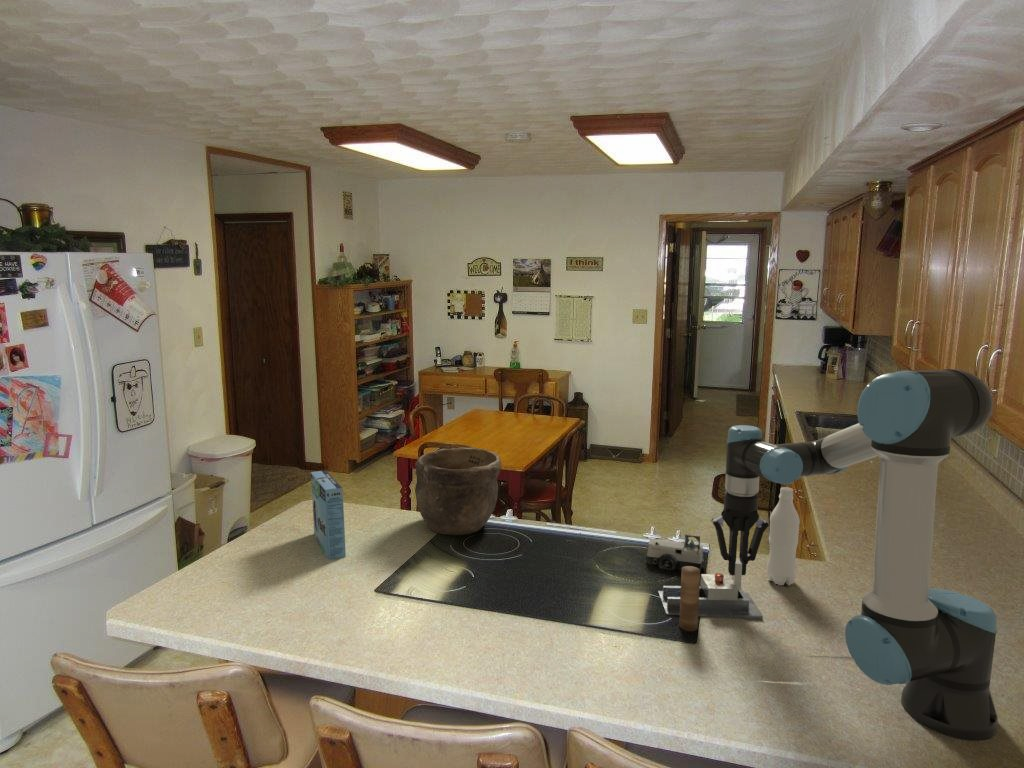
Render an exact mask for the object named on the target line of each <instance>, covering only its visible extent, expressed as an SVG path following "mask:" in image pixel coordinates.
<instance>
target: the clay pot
mask: <svg viewBox="0 0 1024 768" xmlns="http://www.w3.org/2000/svg"><path fill="white" fill-rule="evenodd" d="M414 465H415V475H416V477H417V480H416V484H415V487H414V493H415V499H416V505H417V508H418V510H419V513H420V515H421V517H422V519H423V521H424V522H425V524H426V526H427V527H428V528H429V529H430V530H431V531H432V532H435V533H437V534H441V535H446V536H447V535H448V536H465V535H469V534H474V533H476V532H479V531H480V530H481V529H482V528H483V527H484V526H485V525H486V524H487V523H488V521H489V519H490V518H491V516H492V515H493V513H494V511H495V508H496V505H497V501H498V493H499V484H498V481H497V480H498V477H499V475H500V474H501V468H502V461H501V457H500V456H499V455H498V454H497V453H494V452H493V451H490V450H488V449H482V448H478V447H458V448H456V447H455V448H454V447H452V448H440V449H437V450H434V451H431V452H427V453H425V454H423V455H420V456H419V458H417V460H416V462H415V463H414Z"/></svg>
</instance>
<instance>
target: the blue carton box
mask: <svg viewBox="0 0 1024 768" xmlns="http://www.w3.org/2000/svg"><path fill="white" fill-rule="evenodd" d="M310 482H311V483H310V484H311V499H312V502H311V503H312V516H313V517H312V518H313V534H314V537H315V538H316V541H317V543H318V545H319V547H320V549H321V551H322V552H323V554H324V556H325V557H326V558H327V560H334V559H342V558H346V556H347V554H346V533H345V532H346V531H345V513H344V512H345V511H344V510H345V509H344V493H343V487H342V486H341V485H340V484H339V482H338V481H337V480H336V479H335V478H334V477H333V476H332V475H331V474H330V473H329V472H328V470H318V471H310Z"/></svg>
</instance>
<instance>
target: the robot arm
mask: <svg viewBox="0 0 1024 768" xmlns="http://www.w3.org/2000/svg"><path fill="white" fill-rule="evenodd" d="M989 388H990V387H989V386H988V385H987V384H986V383H985V381H984V380H983V379H981V378H980V377H979V376H977V375H975V374H973V373H972V372H969V371H967V370H963V369H957V368H945V369H931V370H930V369H926V370H925V369H923V370H899V371H895V372H888V373H884V374H881V375H879V376H877V377H875V378H874V379H873V380H872V381H871V382H868V384H867V385H866V386H865V387H864V389H863V390H862V392H861V394H860V396H859V400H858V404H857V410H856V411H857V414H856V415H857V421H858V423H856V424H853V425H850V426H848V427H846V428H843V429H840V430H839V431H836V432H834V433H831V434H828V435H827V436H823V437H822V438H819V439H817V440H813V441H803V442H794V443H792V442H791V443H780V444H779V443H778V444H775V443H770V442H767V441H766V440H765V441H764V440H763V432H762V429H761V428H760V427H757V426H753V425H745V424H744V425H743V424H739V425H733V426H731V427H729V429H728V431H727V440H726V457H725V481H724V489H725V491H724V494H723V495H724V498H723V509H722V512H721V515H720V516H718V517H716V518H715V517H713V518H711V520H710V521H711V523H712V525H713V526H714V528H715V532H716V536H717V541H718V546H719V551H720V555H721V557H722V558H723V561H727V562H728V567H727V569H728V570H727V571H728V575H730V576H731V578H732V580H733V582H734V583H735V585H736V586H737V588H738V590H741V588H742V576H746V574H747V565H748V564H749V562H750V561H751V562H752V561H755V560H756V556H757V554H758V551H759V548H760V545H761V541H762V538H763V535H764V533H765V531H766V530H767V528H768V527H770V523H769V522H767V520H766V519H764V518H761V517H760V514H759V512H758V509H759V508H758V507H759V505H758V504H759V494H758V493H759V491H760V489H759V488H760V477H762V478H765V479H767V480H768V481H770V482H772V483H776V484H780V485H791V484H793V483H794V482H796V481H798V479H799V478H805V477H810V476H811V477H812V476H819V475H820V476H821V475H827V476H828V475H834V474H838V473H842V472H844V471H846V470H847V468H848V467H849V466H852V465H856V464H860V463H862V462H865V461H868V460H871V459H874V458H877V457H879V471H878V472H879V474H878V489H877V490H878V492H877V507H876V520H875V521H876V524H875V539H874V540H875V541H874V555H873V559H874V560H873V572H872V573H873V574H872V587H871V588H872V589H870V590H869V591H867V592H865V593H864V594H863V595H862V597H861V609H860V610H861V613H860V615H858V614H857V615H855V616H853V617H852V618H851V619H850V620H848V621H847V622H846V625H845V629H844V638H845V643H846V647H847V650H848V652H849V655H850V657H851V658H852V660H853V661H854V663H855V664H856V666H857V667H858V669H859V670H860V671H861V672H862V673H863V674H864V676H866V677H867V678H869V679H870V680H872V681H874V682H875V683H878V684H880V685H884V686H891V685H905V686H904V687H903V689H902V691H901V697H900V701H901V705H902V707H903V709H904V710H905V712H906V714H908V715H909V716H910V717H911V718H912V719H914V720H915V721H916V722H918V723H919V724H920V725H922V726H923V727H926V728H928V729H930V730H932V731H934V732H935V733H938V734H941V735H943V736H947V737H949V738H950V737H951V738H954V739H958V740H962V741H971V742H972V741H974V742H978V741H979V742H980V741H987V740H989V739H992V738H993V737H995V735H996V734H997V731H998V724H999V722H998V721H999V720H998V715H997V710H996V707H995V704H994V700H993V695H992V693H991V687H990V686H991V677H992V668H993V662H994V661H993V660H994V653H995V643H996V636H997V634H998V630H997V620H998V619H997V615H996V613H995V611H994V609H993V608H992V607H991V606H989V605H988V604H986V603H985V602H982V601H981V600H979V599H977V598H974V597H972V596H970V595H966V594H963V593H960V592H956V591H952V590H947V589H942V588H941V589H940V588H930V585H931V572H932V571H931V569H932V555H933V554H932V553H933V539H934V528H935V525H934V524H935V514H936V513H935V512H936V495H937V487H938V486H937V483H938V473H939V472H938V471H939V470H938V468H939V464H940V463H941V462H942V461H943V460H945V459H946V458H948V457H950V451H951V443H952V442H951V439H953V438H956V437H963V436H967V435H971V434H973V433H975V432H977V431H978V430H980V429H982V428H983V427H984V426H985V425H986V424H987V423H988V421H989V419H990V418H991V415H992V412H993V410H994V398H993V395H992V392H991V390H990V389H989ZM724 522H725V524H726V526H728V528H729V530H728V531H729V539H728V549H727V543H726V539H725V533H724V529H723V527H724ZM754 525H755V529H754V531H753V535H752V538H751V541H750V543H749V538H750V537H749V536H750V530H751V529H752V528H753V527H754ZM739 532H740V538H739V539H740V541H739V556H738V557H739V559H738V558H737V551H738V550H737V549H738V536H739Z"/></svg>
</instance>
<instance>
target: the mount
mask: <svg viewBox="0 0 1024 768" xmlns="http://www.w3.org/2000/svg"><path fill="white" fill-rule="evenodd" d="M658 594H659V597H660V601H661V603H662V606H663V609H664V611H665V612H664V613H665V614H666V615H667V616H679V617H680V594H681V585H663V586H662V590H658ZM699 617H701V618H703V617H704V618H720V619H721V618H722V619H741V620H757V621H759V620H760V621H762V620H764V618H763V617H764V615H763V614H762V612H761V611H760V609H759V608H758V607H757V605H756V603H755V601H754V600H753V598H752V596H750V594H749V592H745V591H744V590H743V589H742V587H741V590H738V600H708V599H707V597H706V595H705V593H704V591H703V589H702V587H701V586H699V606H698V618H699Z"/></svg>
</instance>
